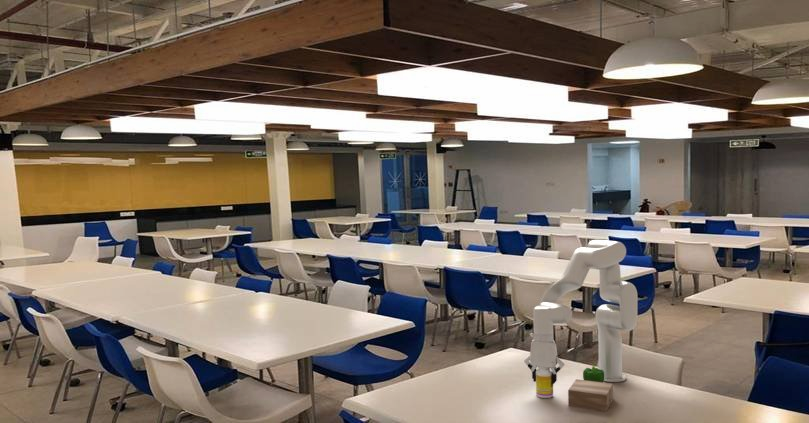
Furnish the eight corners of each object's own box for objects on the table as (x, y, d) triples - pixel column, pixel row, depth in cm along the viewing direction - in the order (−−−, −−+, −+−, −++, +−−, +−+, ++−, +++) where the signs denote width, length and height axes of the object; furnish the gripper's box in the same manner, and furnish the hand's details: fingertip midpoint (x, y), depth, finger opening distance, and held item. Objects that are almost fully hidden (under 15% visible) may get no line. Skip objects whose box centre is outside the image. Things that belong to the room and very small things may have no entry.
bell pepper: (587, 384, 258) (586, 360, 258) (606, 387, 253) (606, 363, 253) (580, 390, 251) (579, 365, 251) (600, 393, 247) (599, 368, 246)
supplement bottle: (553, 399, 242) (552, 366, 241) (536, 398, 243) (535, 366, 242) (553, 393, 248) (552, 361, 248) (536, 392, 250) (535, 361, 249)
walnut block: (576, 394, 247) (576, 379, 246) (612, 398, 240) (612, 383, 240) (568, 405, 234) (568, 390, 234) (606, 411, 228) (606, 395, 228)
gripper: (519, 337, 245) (520, 382, 246) (563, 341, 237) (564, 387, 238) (524, 333, 252) (525, 376, 253) (567, 337, 244) (568, 381, 245)
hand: (544, 381), depth 245 cm, fingers closed on supplement bottle, 6 cm apart
